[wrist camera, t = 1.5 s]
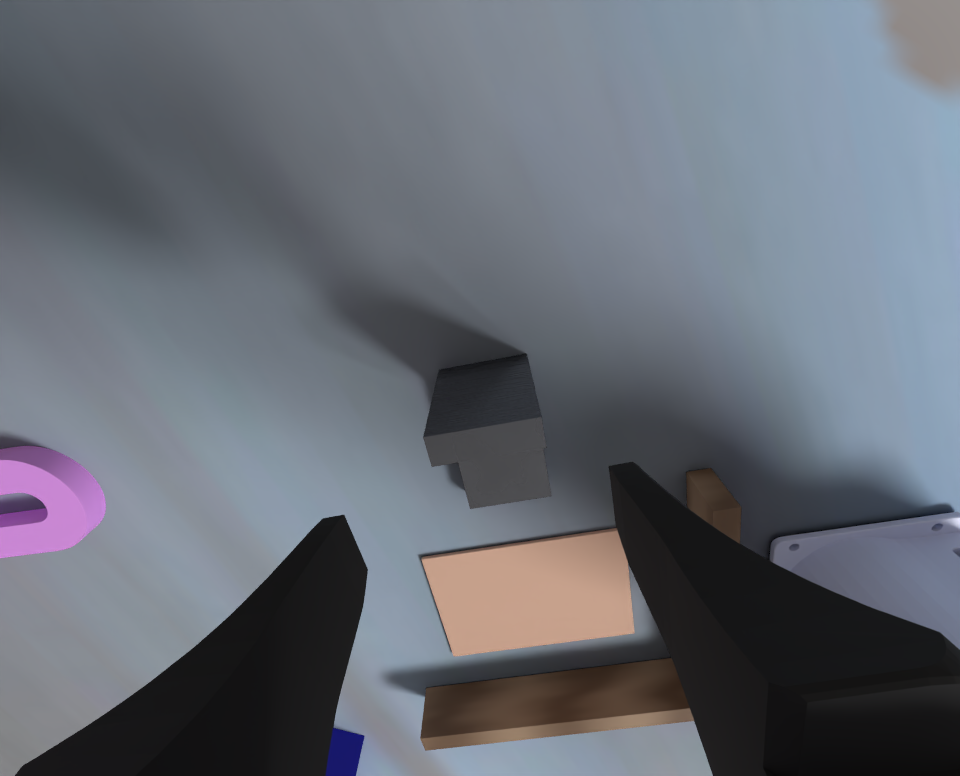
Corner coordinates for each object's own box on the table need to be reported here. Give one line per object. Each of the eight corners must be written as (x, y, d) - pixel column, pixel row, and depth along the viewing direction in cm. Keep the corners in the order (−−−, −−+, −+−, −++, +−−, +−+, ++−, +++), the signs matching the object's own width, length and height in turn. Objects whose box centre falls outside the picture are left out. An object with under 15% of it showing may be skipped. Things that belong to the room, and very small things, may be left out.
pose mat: (623, 527, 25) (624, 529, 25) (633, 630, 28) (634, 633, 28) (421, 556, 26) (421, 559, 26) (453, 653, 29) (453, 656, 29)
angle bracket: (439, 369, 21) (423, 437, 16) (526, 353, 21) (541, 416, 15) (470, 493, 24) (466, 587, 19) (548, 481, 24) (567, 573, 18)
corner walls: (711, 468, 23) (741, 507, 20) (710, 665, 29) (733, 716, 26) (362, 522, 25) (347, 565, 22) (430, 699, 31) (425, 750, 28)
